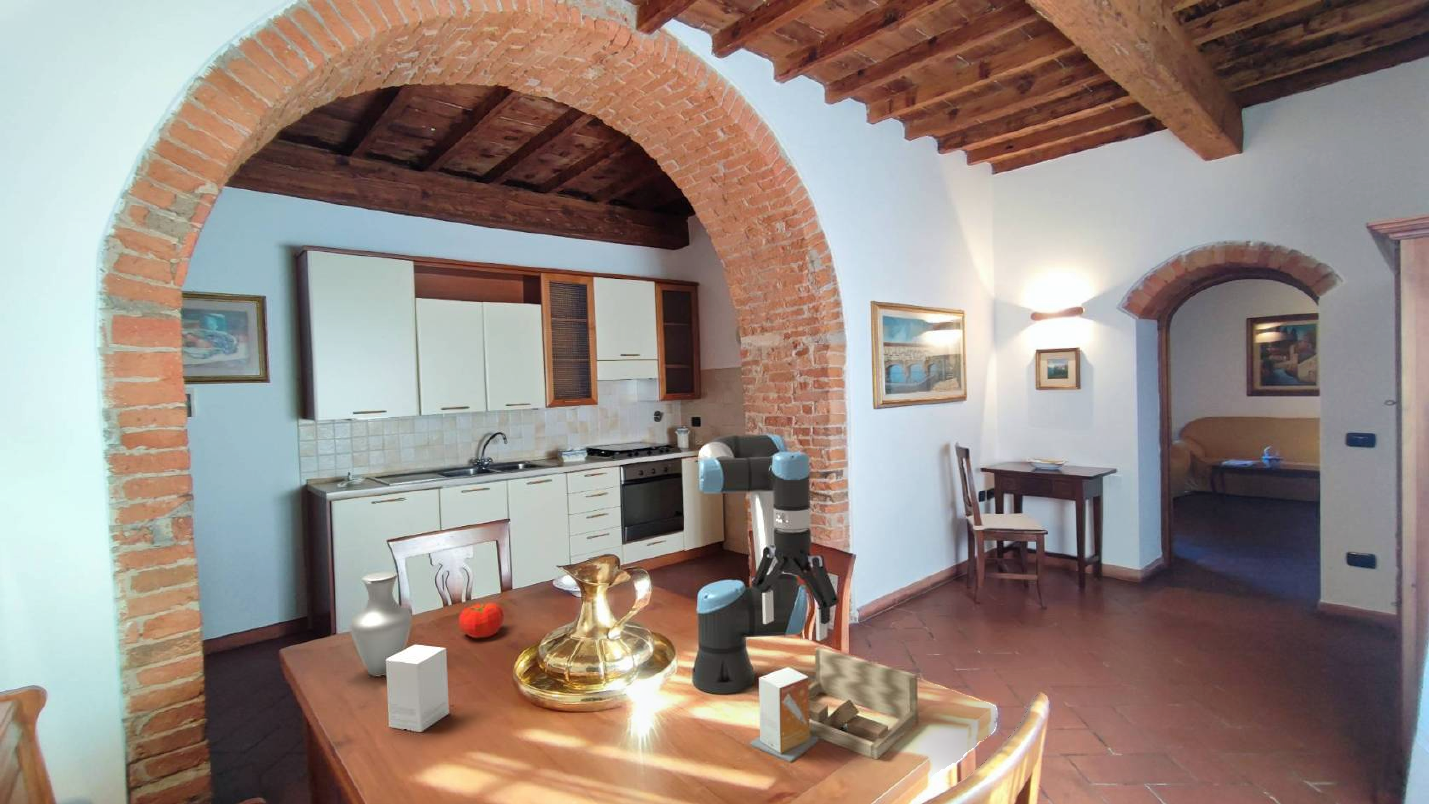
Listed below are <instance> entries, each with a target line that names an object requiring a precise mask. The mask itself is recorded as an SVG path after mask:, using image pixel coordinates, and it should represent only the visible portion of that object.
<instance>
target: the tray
mask: <svg viewBox="0 0 1429 804" xmlns="http://www.w3.org/2000/svg"><path fill="white" fill-rule="evenodd" d="M814 659H815V661H814V662H815V663H814V665H815V669H814V670H815V681H813V682H811V683H809V700H811V699H813V698H814V697H816V696H817V695H819V694H824V695H827V696H829V697H833V698H835V699H838V700H842V701H844V702H846V701H848V700H849V699H850V700H851V702H852V703H853V704H854V705H857V706H860V707H863V708H866V709H868V710H872V711H875V712H878V713H881V714H884V715H886V716H890V717H893V718H895V719H899V720H898V721H897V722H896V723H894V725H892V726H890V728H888V731H886V732H885V733H884V734H883V735H882V736H881V737H880V738H878V739H877V740H876V741H875V742H874V743H873V742H871V741H868V740H865V739H862V738H860V737H857V736H854V735H851V734H849V733H847V731H842V729H840V730H838V729H835V728H832V727H830V726H827V725H825V724H821V723H819V722H816V721H813V720H811V719H809V730H810V735H811V736H814V737H816V738H819V739H821V740H824V741H826V742H830V743H832V744H834V745H837V746H839V747H843V748H845V749H847V750H850V751H852V752H855V753H857V754H861V755H863V756H866V757H868V758H871V759H873V760H876V761H877V760H878V759H880V757H882V756H883V755H884V754H885V753H886V752H887V751H888V750H890V748H891V747H892V746H893V745H895V744H896V743H895V742H896V741H897V742H898V741H899V740H900V739H901V738H902V737H903V736H904V735H905V734H906V733H908V732H909V731H910V730H911V729H912V728H913V727H914V726H915V725H917V723H919V709H918V707H919V706H918V705H919V703H918V702H919V701H918V700H919V699H918V695H919V694H918V674H916V673H913V672H908V671H905V670H902V669H898V668H894V667H890V666H887V665H884V664H880V663H876V662H874V661H873V662H872V661H870V660H867V659H862V658H858V657H854V656H852V655H849V654H845V653H841V652H837V651H833V650H830V649H827V648H823V647H819V646H817V647H816V648H814ZM909 729H910V730H909ZM908 730H909V731H908ZM902 735H903V736H902ZM901 736H902V737H901ZM900 737H901V738H900ZM884 752H885V753H884ZM883 753H884V754H883ZM882 754H883V755H882Z"/></svg>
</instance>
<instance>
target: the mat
mask: <svg viewBox="0 0 1429 804" xmlns="http://www.w3.org/2000/svg"><path fill="white" fill-rule="evenodd" d="M819 741H820V738H818V737H816V736H813V735H811V734H810V740H809V741H807V742H804V743H802V744H800V745H798V746H795V747H793V748H791V749H789V750H787V751H785V752H783V753H779V752H777V751H775V750H774V749H772V748H771V747H769V746H767V745H766V744H764V743H763V742H761V741H760V735H759V736H757V737H756V738H754V739H753V740H752V741H749V743H748V745H749V747H750V746H751V747H753V748H755V749H758V750H760V751H762V752H765V753H768V755H769V754H770V755H771V756H774V757H776V758H779V759H781V760H784V761H786V762H788V763H792V762H793V761H795V760H796V759H797V758H799V757H800V756H801V755H802V754H804V753H805V752H806V751H807V750H809V749H811V748H812V747H813V746H814V745H816V744H817V743H818V742H819Z"/></svg>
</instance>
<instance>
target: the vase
mask: <svg viewBox="0 0 1429 804" xmlns="http://www.w3.org/2000/svg"><path fill="white" fill-rule="evenodd" d="M398 575H399V574H398V573H397V572H396V571H382V572H381V571H380V572H378V571H377V572H374V573H369V574H366V575H365V576H362V577H361V579H362V582H363V584H364V586H365V588H366V591H367V594H368V600H367V603H366V605H365V608H364V609H363V610H362V611H361V612H359V613H358V614H357V615H356V616H355V617H354V618H353V619H352V620H351V622H350V627H349V628H350V629H349V630H350V635H351V638H352V639H353V642H354V644H355V648H356V650H357V652H358V654H359V657H360V660H361V661H362V663H363V664H364V665H363V666H365V669H366V670H367V672H368V673H369V675H370V674H371V675H383V674H387V673H386V659H388V658H389V657H391V656H393V655H395V654H398V653H400V652H402V651H404V650H406V646H407V643H408V640H409V636H410V634H411V633H410V632H411V628H412V623H413V615H412V613H411V611H410V610H408V608H406V607H404V606H402V605H400V604H398V603H397V602H396V600H395V598H394V596H393V590H394V585H395V582H396V580H397V577H398Z"/></svg>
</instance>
